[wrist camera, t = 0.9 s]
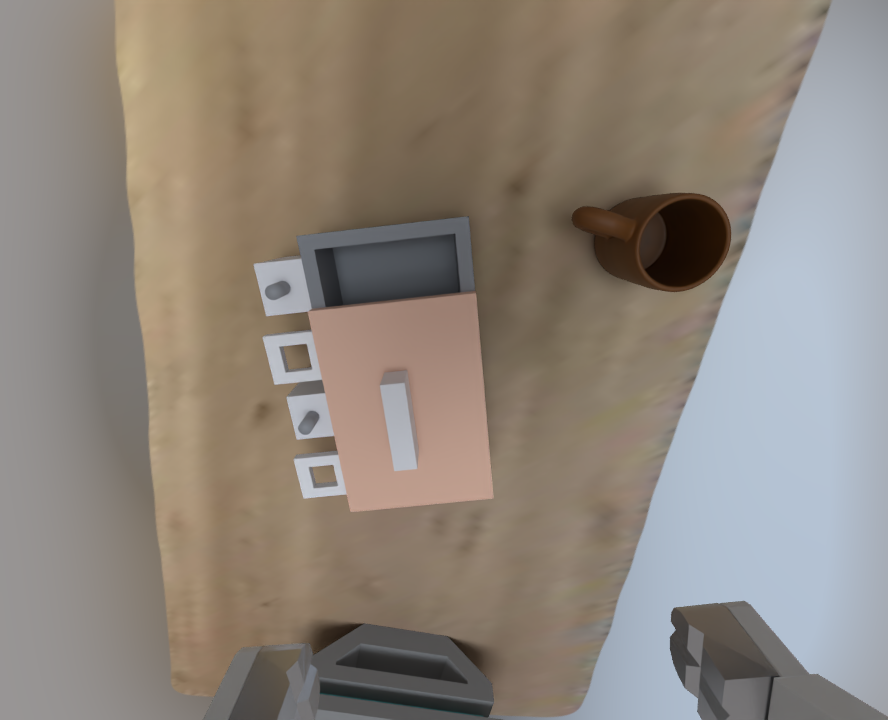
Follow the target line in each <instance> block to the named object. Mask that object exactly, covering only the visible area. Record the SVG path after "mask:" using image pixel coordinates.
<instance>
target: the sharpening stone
mask: <svg viewBox="0 0 888 720" xmlns="http://www.w3.org/2000/svg"><path fill="white" fill-rule="evenodd" d="M310 664H311V665H312V666H314V667H315V668H316V669H317V671H318V675H319V681H320V695H319V705H318V709H317V713H316V717H315V720H501V719H494V718H488V717H489V714H490V712H491V709H492V706H493V703H494V698H493V689H492V683H491V682H490V681H489V680H488V679H487V678H486V677H485V676H484V675H483V673H482V672H481V671H480V670H479V669H478V668H477V667H476V666H475V665H474V664H473V663H472V662H471V661H470V660H469V659H468V658H467V657H466V655H465V654H464V653H463V652H462V651H461V650H460V649H459V648H458V647H457V646H456V645H455V644H454V643H453V642H452V641H451V640H450V639H449V637H448V636H442V635H436V634H429V633H423V632H416V631H410V630H403V629H397V628H390V627H384V626H378V625H371V624H365V623H364V624H363V625H361V626H359V627H358V628H356V629H355V630H353V631H351V632H350V633H348V634H347V635H345V636H343V637H342V638H340V639H339V640H337V641H335V642H334V643H332V644H331V645H329V646H327V647H326V648H324V649H323V650H321V651H319V652H318V653H316V654H314V655H313V657H312V660H311V663H310Z"/></svg>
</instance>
